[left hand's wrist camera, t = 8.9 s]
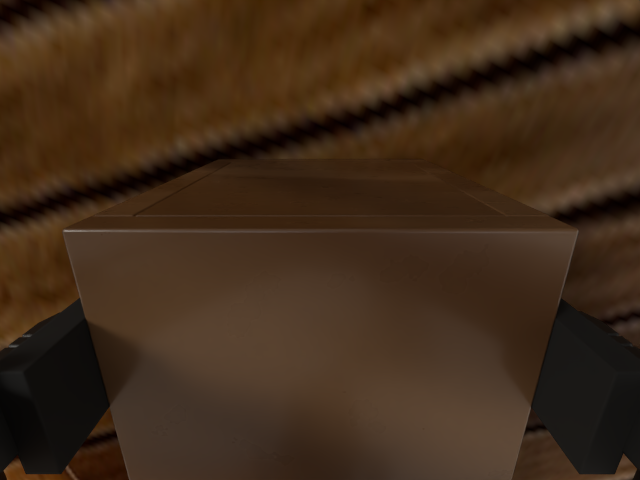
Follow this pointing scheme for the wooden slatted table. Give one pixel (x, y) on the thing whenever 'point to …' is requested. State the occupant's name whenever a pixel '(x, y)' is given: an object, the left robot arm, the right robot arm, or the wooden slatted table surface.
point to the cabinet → (320, 321)
